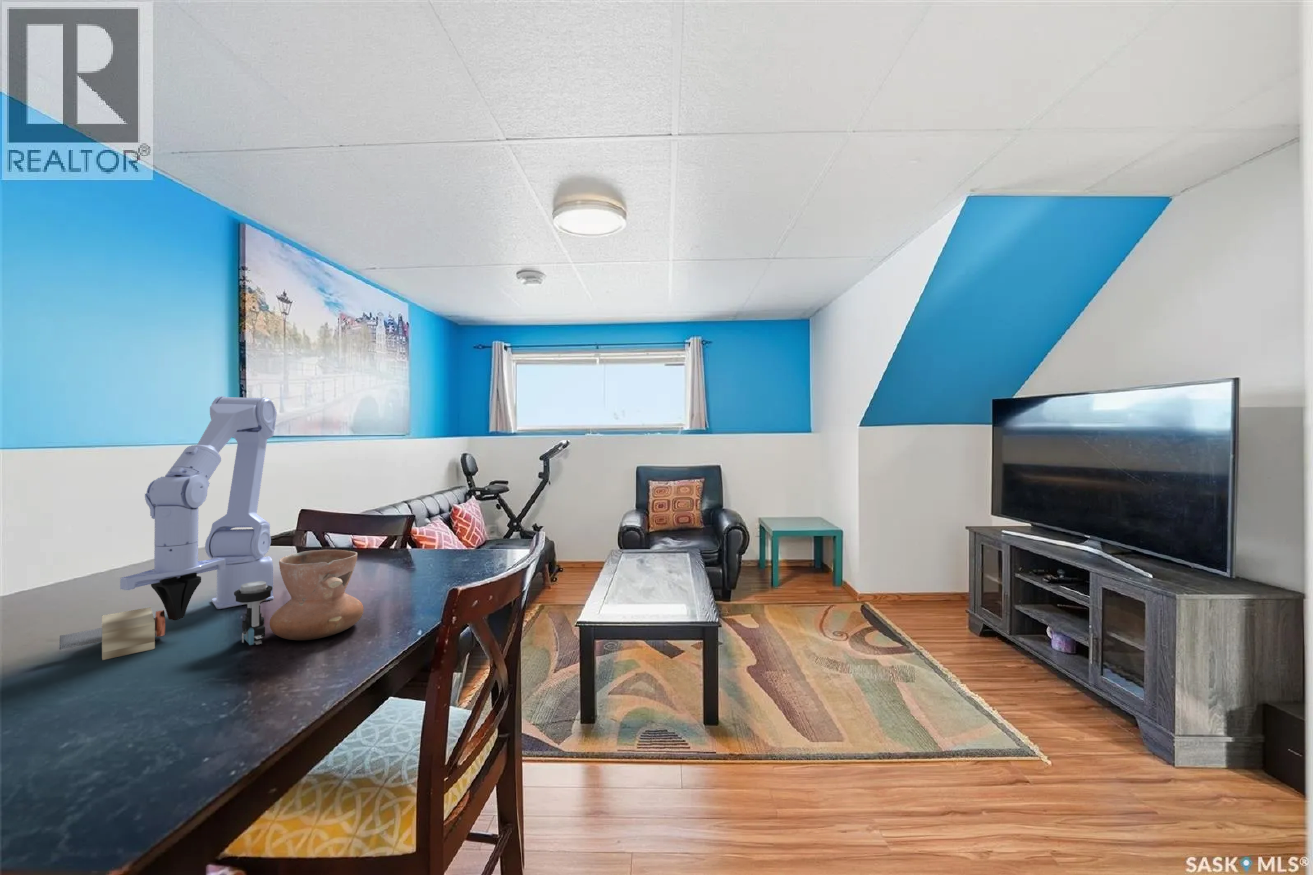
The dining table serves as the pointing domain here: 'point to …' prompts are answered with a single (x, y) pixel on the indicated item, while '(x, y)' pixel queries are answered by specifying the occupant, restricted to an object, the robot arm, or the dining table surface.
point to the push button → (253, 610)
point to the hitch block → (127, 633)
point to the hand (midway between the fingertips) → (176, 618)
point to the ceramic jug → (316, 595)
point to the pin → (96, 634)
